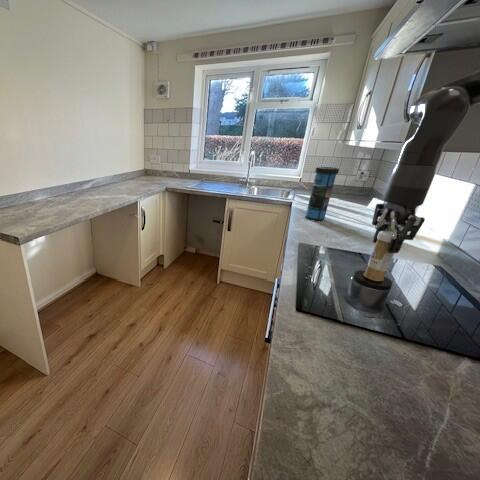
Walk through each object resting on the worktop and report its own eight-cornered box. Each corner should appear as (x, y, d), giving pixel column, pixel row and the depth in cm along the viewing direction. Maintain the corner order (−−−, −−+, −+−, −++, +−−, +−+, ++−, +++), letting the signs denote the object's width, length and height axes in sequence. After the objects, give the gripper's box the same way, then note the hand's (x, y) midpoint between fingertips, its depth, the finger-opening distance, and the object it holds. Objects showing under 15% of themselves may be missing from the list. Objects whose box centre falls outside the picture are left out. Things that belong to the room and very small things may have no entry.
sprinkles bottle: (359, 273, 74) (374, 230, 69) (375, 274, 74) (391, 230, 69) (371, 282, 70) (388, 236, 65) (388, 282, 70) (406, 236, 65)
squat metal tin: (369, 300, 80) (380, 271, 76) (388, 319, 71) (402, 288, 67) (337, 297, 81) (346, 268, 77) (352, 316, 73) (364, 285, 69)
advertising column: (327, 218, 157) (341, 168, 145) (322, 223, 149) (336, 169, 138) (307, 215, 164) (319, 166, 152) (301, 218, 156) (313, 167, 145)
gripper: (453, 190, 55) (421, 260, 62) (404, 179, 68) (382, 238, 75) (413, 188, 56) (386, 258, 63) (373, 178, 69) (354, 236, 76)
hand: (384, 247), depth 69 cm, fingers open, 5 cm apart
